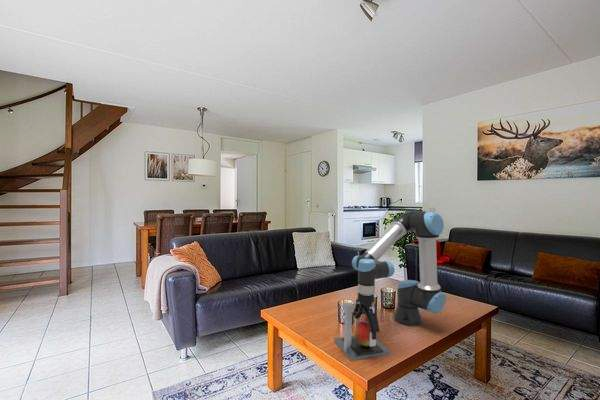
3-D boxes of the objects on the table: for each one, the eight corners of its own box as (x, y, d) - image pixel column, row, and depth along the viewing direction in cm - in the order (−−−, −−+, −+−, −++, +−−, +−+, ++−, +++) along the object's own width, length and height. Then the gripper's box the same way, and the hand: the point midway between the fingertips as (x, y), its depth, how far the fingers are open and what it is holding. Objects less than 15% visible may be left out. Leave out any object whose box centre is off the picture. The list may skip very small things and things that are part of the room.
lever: (368, 334, 150) (368, 313, 150) (371, 337, 147) (371, 315, 147) (361, 335, 149) (361, 314, 149) (364, 338, 146) (364, 316, 146)
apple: (358, 349, 132) (360, 327, 132) (351, 340, 142) (353, 319, 142) (378, 350, 134) (380, 327, 134) (370, 340, 143) (372, 319, 144)
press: (369, 336, 152) (371, 292, 152) (390, 354, 135) (392, 305, 135) (333, 341, 146) (334, 296, 146) (349, 361, 129) (351, 309, 128)
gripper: (346, 285, 148) (345, 327, 148) (373, 303, 124) (372, 353, 125) (359, 284, 150) (358, 326, 151) (388, 301, 126) (387, 351, 127)
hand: (364, 338), depth 138 cm, fingers open, 13 cm apart
